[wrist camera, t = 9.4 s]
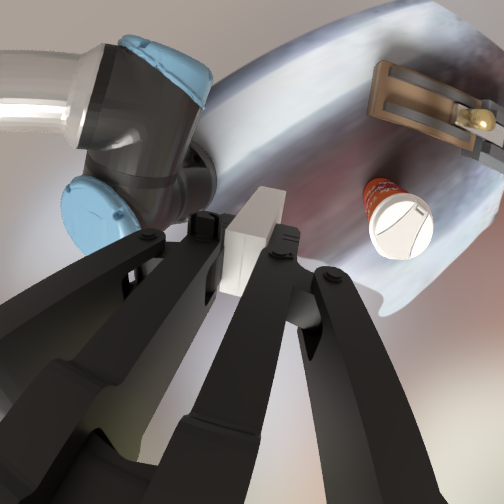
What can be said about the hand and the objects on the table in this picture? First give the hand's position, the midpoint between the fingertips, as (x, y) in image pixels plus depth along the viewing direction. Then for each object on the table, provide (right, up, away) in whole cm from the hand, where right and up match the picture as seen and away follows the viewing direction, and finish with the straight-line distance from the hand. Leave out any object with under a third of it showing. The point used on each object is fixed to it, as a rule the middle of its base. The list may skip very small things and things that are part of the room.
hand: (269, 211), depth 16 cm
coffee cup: (+19, +7, +26) cm, 33 cm away
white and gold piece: (+30, +15, +11) cm, 36 cm away
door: (+24, +20, +18) cm, 36 cm away
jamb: (+36, +17, +16) cm, 43 cm away
